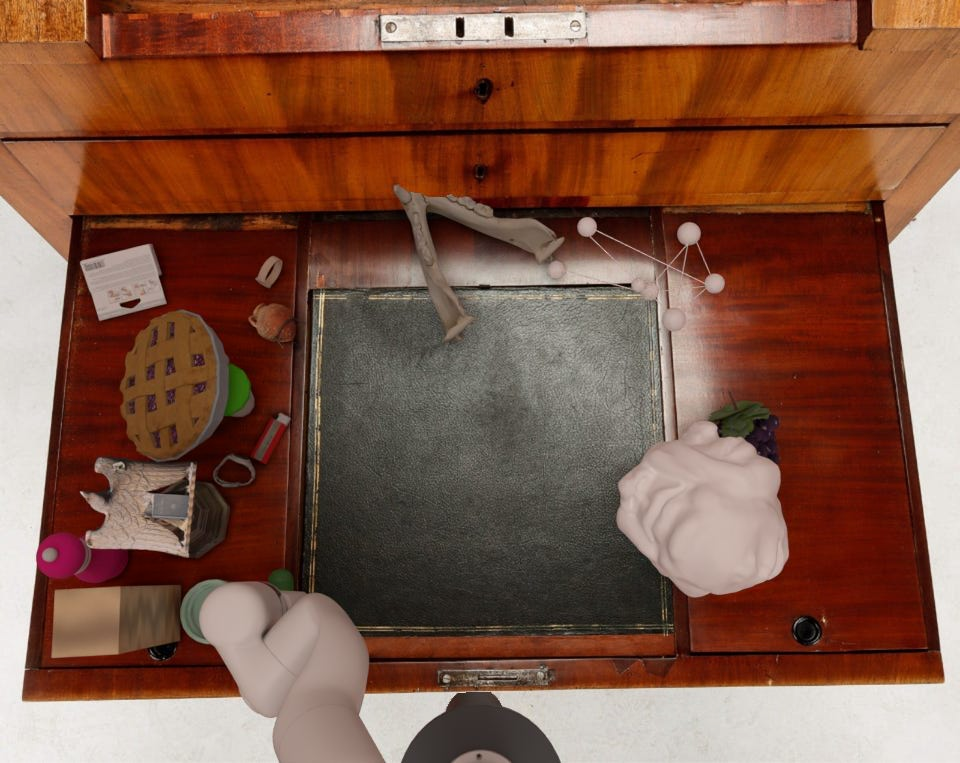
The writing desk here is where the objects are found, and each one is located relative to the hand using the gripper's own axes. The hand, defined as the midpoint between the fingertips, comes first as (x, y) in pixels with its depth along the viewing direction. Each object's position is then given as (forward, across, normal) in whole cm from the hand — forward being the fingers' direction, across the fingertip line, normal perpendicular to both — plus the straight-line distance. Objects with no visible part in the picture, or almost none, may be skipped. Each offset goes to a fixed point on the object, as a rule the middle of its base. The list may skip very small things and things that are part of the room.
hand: (282, 606), depth 128 cm
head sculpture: (-15, +67, +2) cm, 69 cm away
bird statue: (+5, -12, +14) cm, 19 cm away
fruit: (+2, +72, +15) cm, 74 cm away
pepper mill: (+5, -27, +8) cm, 29 cm away
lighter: (+4, -4, +22) cm, 22 cm away
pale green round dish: (+4, -10, 0) cm, 11 cm away
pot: (+1, +2, +45) cm, 45 cm away
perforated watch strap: (+5, -2, +52) cm, 52 cm away
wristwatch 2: (+4, -8, +18) cm, 20 cm away
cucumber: (0, 0, 0) cm, 0 cm away
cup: (+5, -7, +31) cm, 32 cm away
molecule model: (+1, +54, +56) cm, 78 cm away
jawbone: (+5, +27, +55) cm, 62 cm away
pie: (-4, -13, +32) cm, 35 cm away
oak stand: (+5, -20, 0) cm, 20 cm away
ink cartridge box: (+2, -26, +56) cm, 62 cm away
